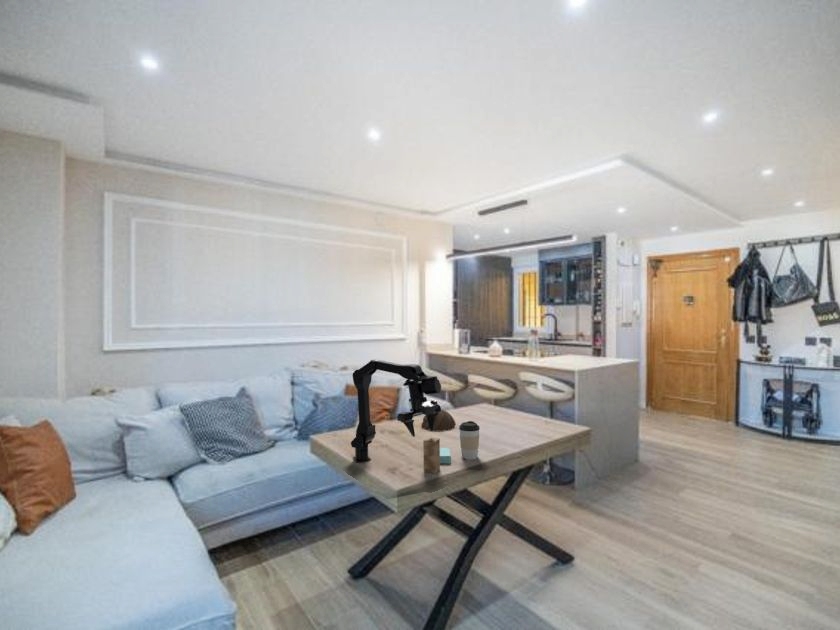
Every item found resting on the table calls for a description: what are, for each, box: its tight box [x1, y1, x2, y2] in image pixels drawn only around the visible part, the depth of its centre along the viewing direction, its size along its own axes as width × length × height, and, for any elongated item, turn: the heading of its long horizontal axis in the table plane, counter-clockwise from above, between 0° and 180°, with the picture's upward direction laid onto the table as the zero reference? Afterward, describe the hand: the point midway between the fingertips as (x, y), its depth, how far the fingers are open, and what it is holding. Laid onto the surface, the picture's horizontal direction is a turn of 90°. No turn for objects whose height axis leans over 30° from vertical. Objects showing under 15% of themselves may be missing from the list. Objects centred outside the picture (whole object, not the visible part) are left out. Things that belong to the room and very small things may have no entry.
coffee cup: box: [459, 420, 480, 460], centre depth 184 cm, size 9×9×15 cm
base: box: [440, 447, 452, 464], centre depth 182 cm, size 11×11×3 cm
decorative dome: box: [421, 408, 457, 432], centre depth 236 cm, size 19×20×10 cm
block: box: [422, 436, 441, 474], centre depth 168 cm, size 5×5×12 cm
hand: (422, 433), depth 169 cm, fingers open, 9 cm apart
